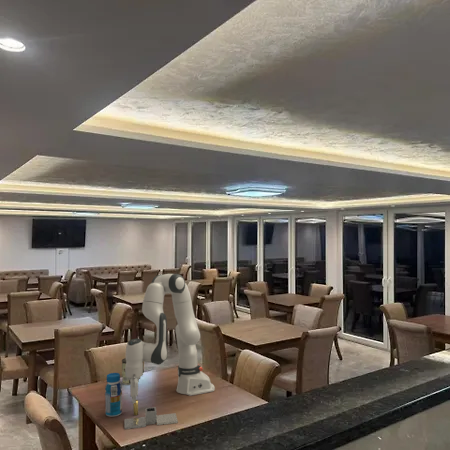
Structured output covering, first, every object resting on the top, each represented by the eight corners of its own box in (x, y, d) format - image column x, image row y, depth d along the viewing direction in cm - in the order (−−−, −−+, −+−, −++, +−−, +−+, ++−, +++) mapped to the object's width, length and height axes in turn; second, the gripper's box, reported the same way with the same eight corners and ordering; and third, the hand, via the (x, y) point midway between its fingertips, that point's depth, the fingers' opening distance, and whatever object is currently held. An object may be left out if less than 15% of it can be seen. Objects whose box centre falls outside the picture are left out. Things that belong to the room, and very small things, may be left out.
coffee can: (140, 379, 268) (140, 356, 268) (136, 384, 257) (136, 361, 258) (124, 379, 268) (124, 357, 268) (120, 385, 257) (119, 362, 258)
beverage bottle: (101, 416, 214) (101, 376, 214) (111, 409, 221) (111, 371, 222) (115, 418, 211) (115, 378, 211) (125, 411, 218) (124, 372, 219)
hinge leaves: (175, 415, 213) (175, 403, 213) (177, 422, 204) (177, 410, 204) (124, 421, 207) (124, 408, 207) (124, 429, 198) (124, 416, 198)
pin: (138, 413, 216) (137, 399, 216) (138, 415, 214) (138, 401, 214) (133, 413, 216) (133, 400, 216) (133, 415, 213) (133, 401, 213)
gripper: (140, 378, 206) (140, 406, 205) (140, 365, 226) (139, 391, 225) (127, 378, 204) (127, 407, 204) (128, 366, 224) (127, 392, 224)
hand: (133, 399), depth 215 cm, fingers open, 8 cm apart
